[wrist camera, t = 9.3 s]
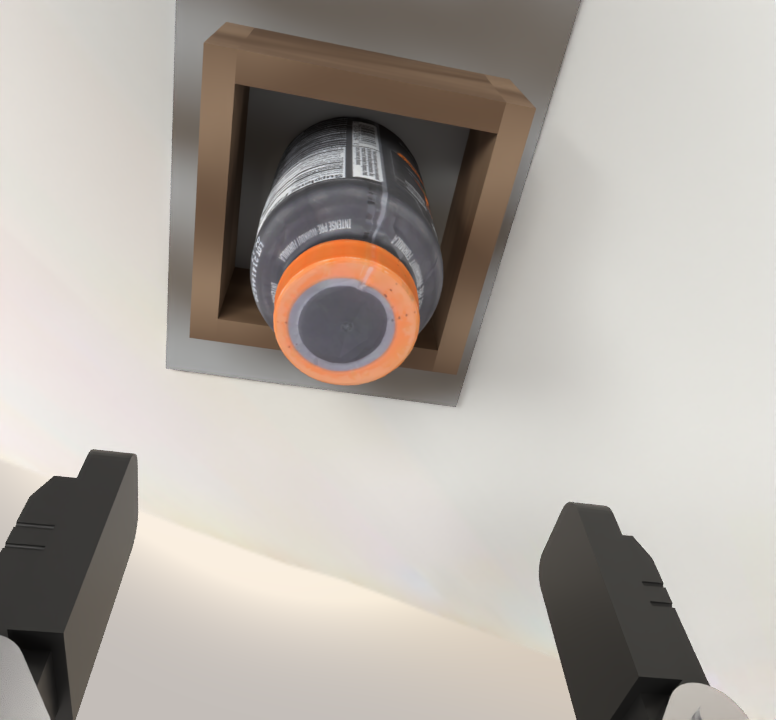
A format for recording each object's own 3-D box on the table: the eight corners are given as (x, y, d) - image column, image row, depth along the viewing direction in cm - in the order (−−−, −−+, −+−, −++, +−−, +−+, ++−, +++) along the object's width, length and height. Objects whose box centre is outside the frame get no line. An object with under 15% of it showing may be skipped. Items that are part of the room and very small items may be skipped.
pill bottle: (423, 252, 30) (455, 412, 20) (284, 260, 30) (251, 425, 20) (420, 107, 27) (456, 218, 17) (265, 117, 26) (214, 232, 17)
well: (183, -153, 22) (144, -166, 18) (594, -56, 24) (643, -48, 20) (167, 363, 33) (141, 428, 29) (455, 401, 35) (468, 468, 31)
